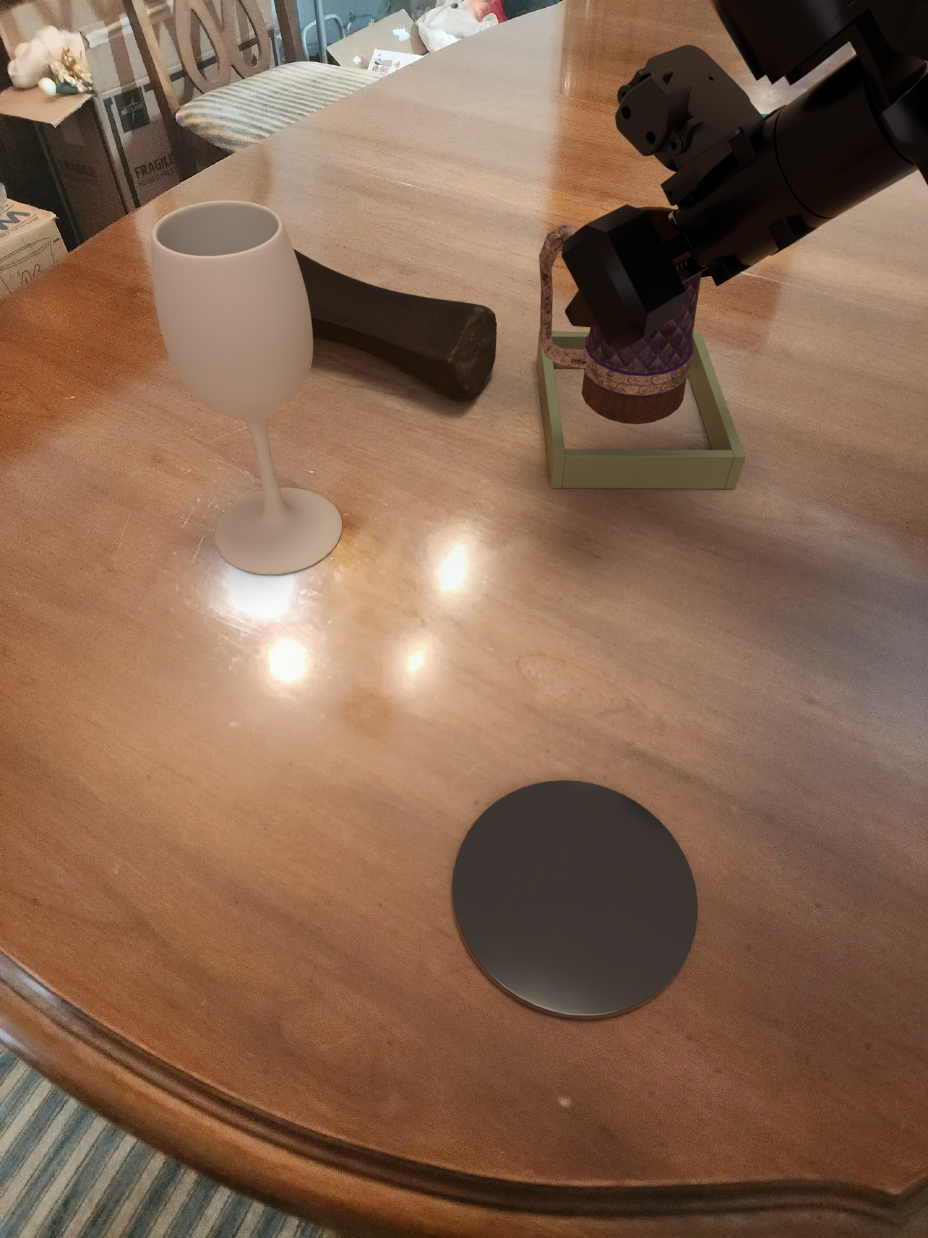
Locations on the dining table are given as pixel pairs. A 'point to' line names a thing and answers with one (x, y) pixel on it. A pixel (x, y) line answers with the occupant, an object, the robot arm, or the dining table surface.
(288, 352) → the wineglass
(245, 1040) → the dining table surface
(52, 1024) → the dining table surface
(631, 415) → the mug
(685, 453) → the frame
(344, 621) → the dining table surface
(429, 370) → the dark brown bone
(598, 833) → the coaster
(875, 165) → the robot arm
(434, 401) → the dining table surface
